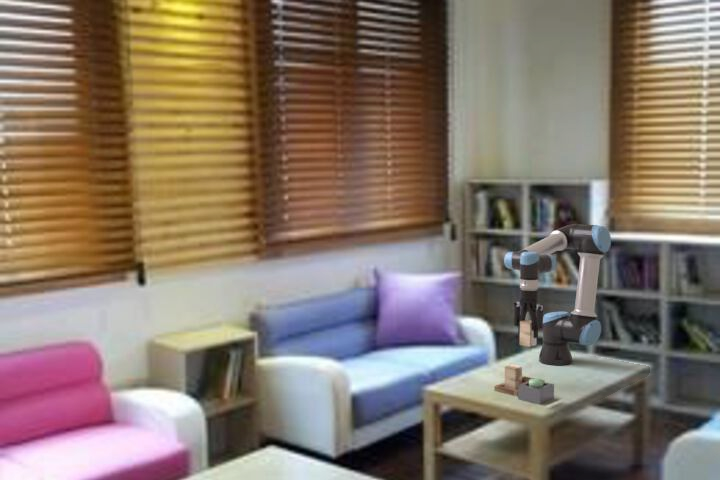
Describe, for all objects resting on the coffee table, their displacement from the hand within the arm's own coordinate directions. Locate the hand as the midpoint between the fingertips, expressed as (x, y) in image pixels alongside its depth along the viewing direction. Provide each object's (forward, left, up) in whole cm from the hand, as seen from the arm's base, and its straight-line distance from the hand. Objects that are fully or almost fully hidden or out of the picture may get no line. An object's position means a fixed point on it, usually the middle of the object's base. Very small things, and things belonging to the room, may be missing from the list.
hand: (527, 344), depth 346 cm
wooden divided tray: (+8, +2, -18) cm, 20 cm away
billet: (0, 0, 0) cm, 0 cm away
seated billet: (+13, +2, -17) cm, 21 cm away
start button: (+16, +15, -12) cm, 25 cm away
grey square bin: (+16, +15, -18) cm, 28 cm away
